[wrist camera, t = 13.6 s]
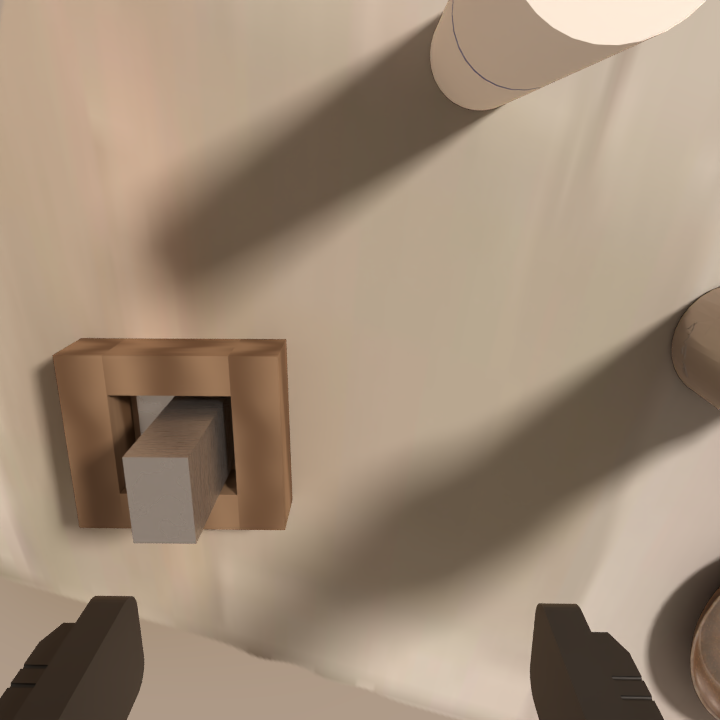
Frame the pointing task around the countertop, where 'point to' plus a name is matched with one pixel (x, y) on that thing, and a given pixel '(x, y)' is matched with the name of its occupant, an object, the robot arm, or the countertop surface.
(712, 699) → the plant saucer
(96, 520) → the well block
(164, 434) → the grey block
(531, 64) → the cylindrical container
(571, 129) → the countertop surface
